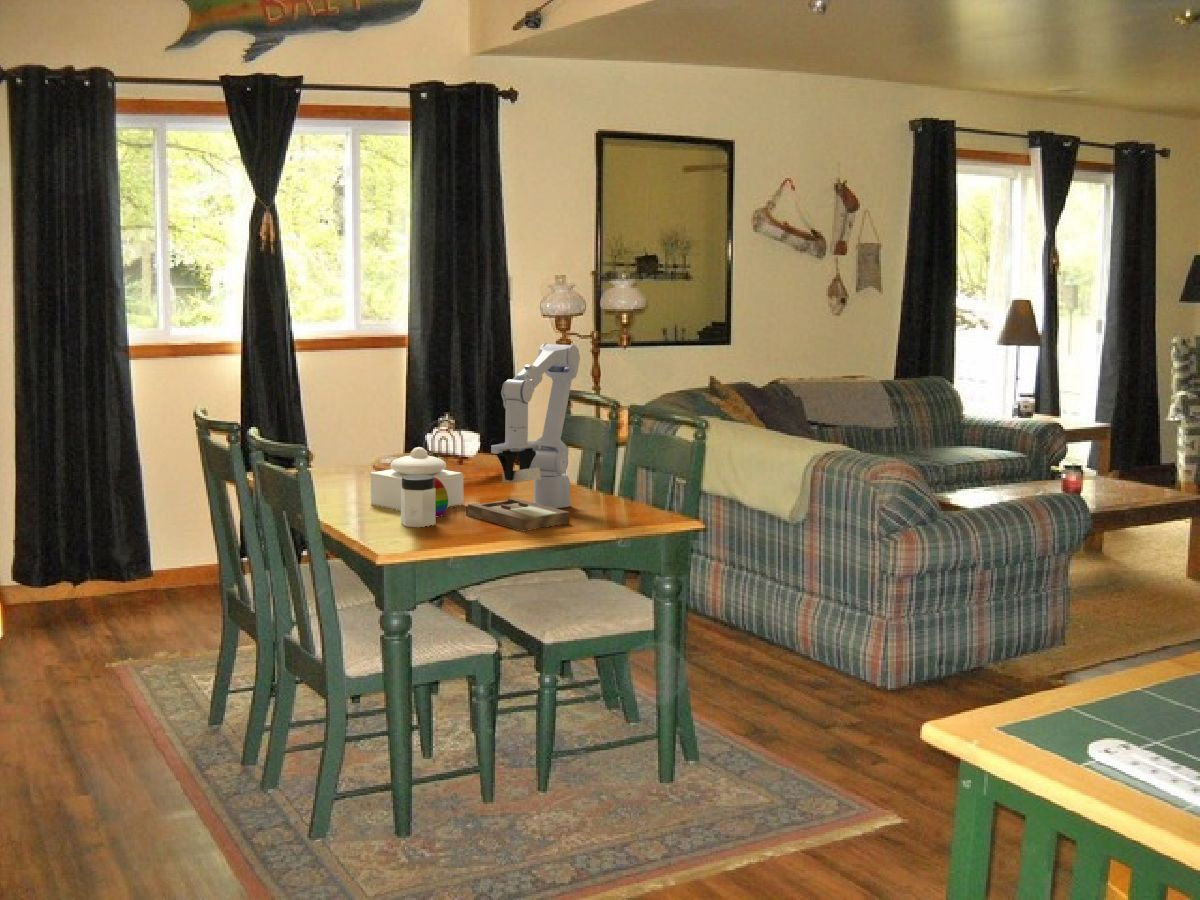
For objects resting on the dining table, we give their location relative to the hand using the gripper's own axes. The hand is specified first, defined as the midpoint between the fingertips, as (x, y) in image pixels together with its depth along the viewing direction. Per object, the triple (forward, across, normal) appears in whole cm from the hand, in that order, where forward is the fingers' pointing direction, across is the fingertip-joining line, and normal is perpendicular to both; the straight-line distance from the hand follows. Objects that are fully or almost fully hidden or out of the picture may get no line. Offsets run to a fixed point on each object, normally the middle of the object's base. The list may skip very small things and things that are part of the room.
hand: (516, 479), depth 340 cm
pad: (+8, 0, +7) cm, 10 cm away
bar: (0, 0, +2) cm, 3 cm away
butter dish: (+11, +10, -30) cm, 34 cm away
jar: (+11, +24, -9) cm, 27 cm away
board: (+10, 0, 0) cm, 10 cm away
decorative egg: (+11, +15, -16) cm, 24 cm away
